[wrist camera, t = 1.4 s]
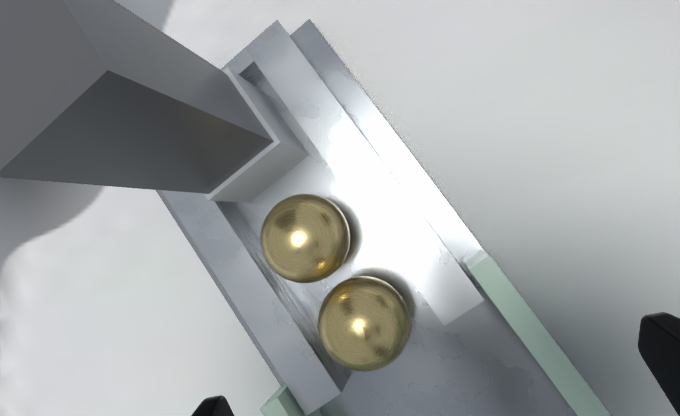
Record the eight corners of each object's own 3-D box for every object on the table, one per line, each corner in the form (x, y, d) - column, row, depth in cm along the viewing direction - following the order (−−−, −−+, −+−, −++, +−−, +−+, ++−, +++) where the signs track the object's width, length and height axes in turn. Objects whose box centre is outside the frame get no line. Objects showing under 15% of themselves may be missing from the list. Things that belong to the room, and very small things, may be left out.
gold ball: (430, 324, 20) (428, 352, 16) (361, 370, 21) (343, 406, 17) (380, 254, 20) (366, 263, 17) (314, 300, 21) (286, 320, 17)
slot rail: (671, 499, 18) (706, 541, 16) (437, 618, 20) (437, 671, 18) (312, 23, 22) (297, 1, 20) (146, 166, 24) (115, 161, 22)
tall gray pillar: (309, 155, 21) (119, 71, 9) (248, 202, 22) (-9, 189, 9) (265, 93, 22) (26, -71, 9) (207, 141, 23) (-88, 51, 10)
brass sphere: (373, 245, 21) (358, 253, 17) (309, 292, 21) (280, 309, 17) (326, 179, 21) (301, 171, 17) (264, 226, 22) (227, 229, 18)
